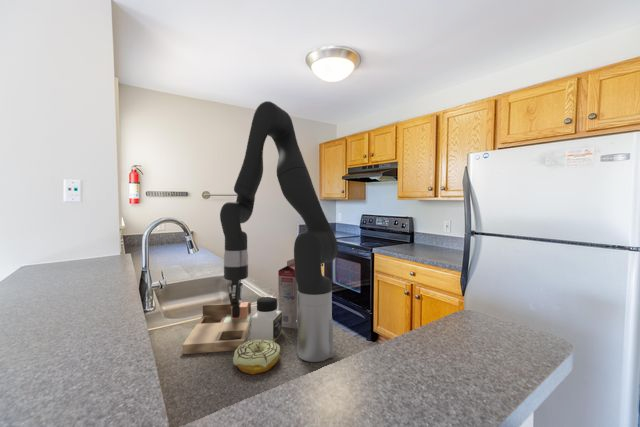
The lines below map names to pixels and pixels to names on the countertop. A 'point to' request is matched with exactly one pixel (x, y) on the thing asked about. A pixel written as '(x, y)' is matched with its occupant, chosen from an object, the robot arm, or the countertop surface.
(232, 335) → the board
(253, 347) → the decorated donut
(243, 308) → the block
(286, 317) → the juice carton
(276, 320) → the medicine bottle
